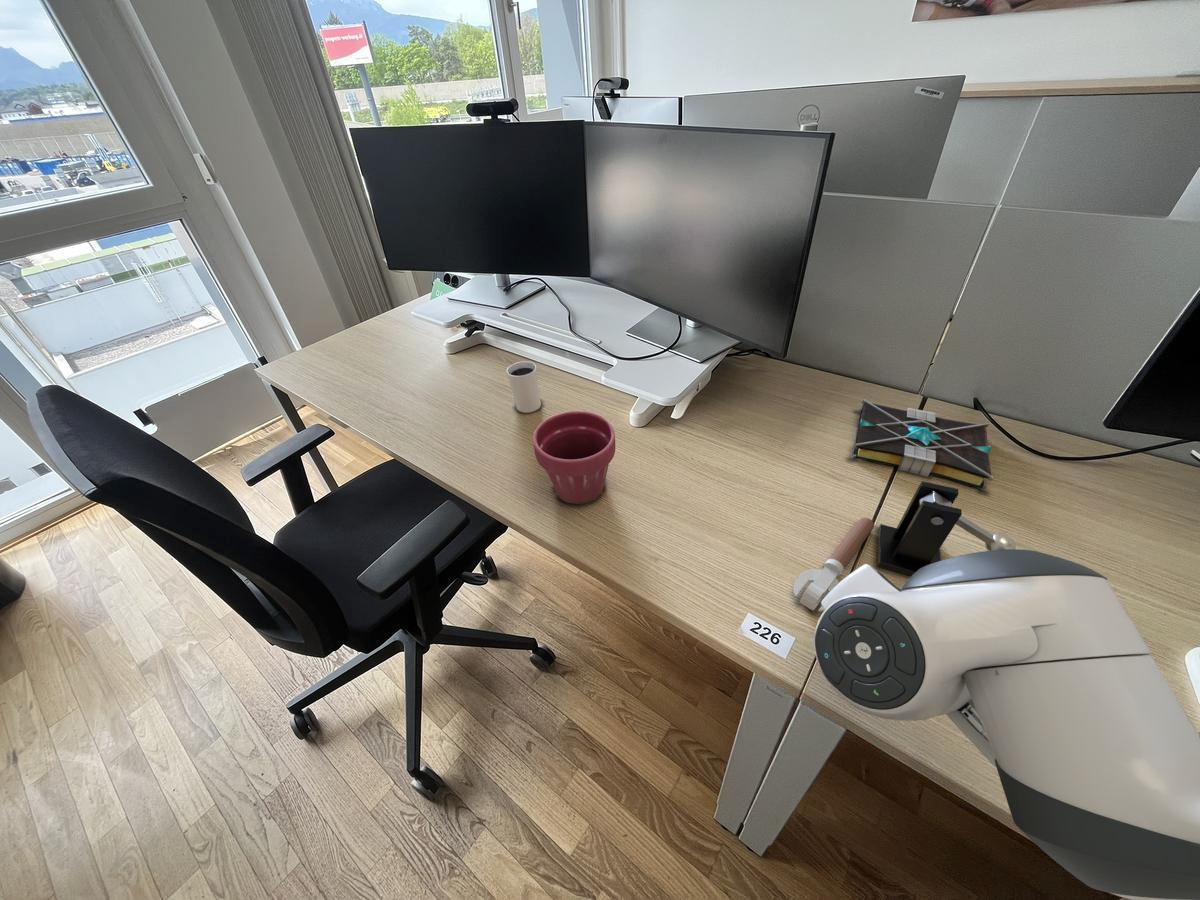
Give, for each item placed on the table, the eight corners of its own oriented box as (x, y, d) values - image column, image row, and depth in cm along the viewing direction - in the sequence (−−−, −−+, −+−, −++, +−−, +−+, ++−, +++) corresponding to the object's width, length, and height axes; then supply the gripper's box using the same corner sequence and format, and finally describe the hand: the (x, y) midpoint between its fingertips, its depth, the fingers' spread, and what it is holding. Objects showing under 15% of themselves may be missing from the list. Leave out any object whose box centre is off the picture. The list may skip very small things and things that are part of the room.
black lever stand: (935, 543, 72) (972, 485, 64) (939, 584, 67) (980, 526, 58) (878, 528, 75) (906, 471, 67) (877, 566, 70) (908, 509, 61)
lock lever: (997, 547, 65) (1019, 537, 63) (1000, 565, 63) (1024, 555, 61) (916, 498, 66) (935, 486, 64) (917, 514, 64) (937, 502, 61)
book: (980, 437, 90) (992, 416, 87) (986, 493, 79) (1000, 472, 76) (857, 412, 99) (864, 392, 96) (848, 459, 88) (855, 439, 85)
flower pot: (632, 479, 88) (630, 425, 79) (587, 526, 79) (580, 472, 71) (574, 453, 95) (567, 401, 87) (527, 494, 86) (514, 441, 78)
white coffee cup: (517, 416, 106) (509, 379, 100) (512, 401, 111) (504, 365, 105) (545, 409, 108) (539, 372, 101) (539, 395, 112) (532, 358, 106)
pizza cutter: (838, 514, 78) (843, 502, 76) (876, 531, 75) (882, 518, 73) (785, 599, 66) (789, 587, 65) (827, 623, 63) (833, 611, 61)
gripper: (1078, 763, 33) (1075, 746, 42) (854, 550, 47) (888, 571, 56) (1002, 810, 35) (1016, 783, 44) (808, 590, 49) (849, 604, 58)
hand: (942, 662), depth 50 cm, fingers open, 8 cm apart
